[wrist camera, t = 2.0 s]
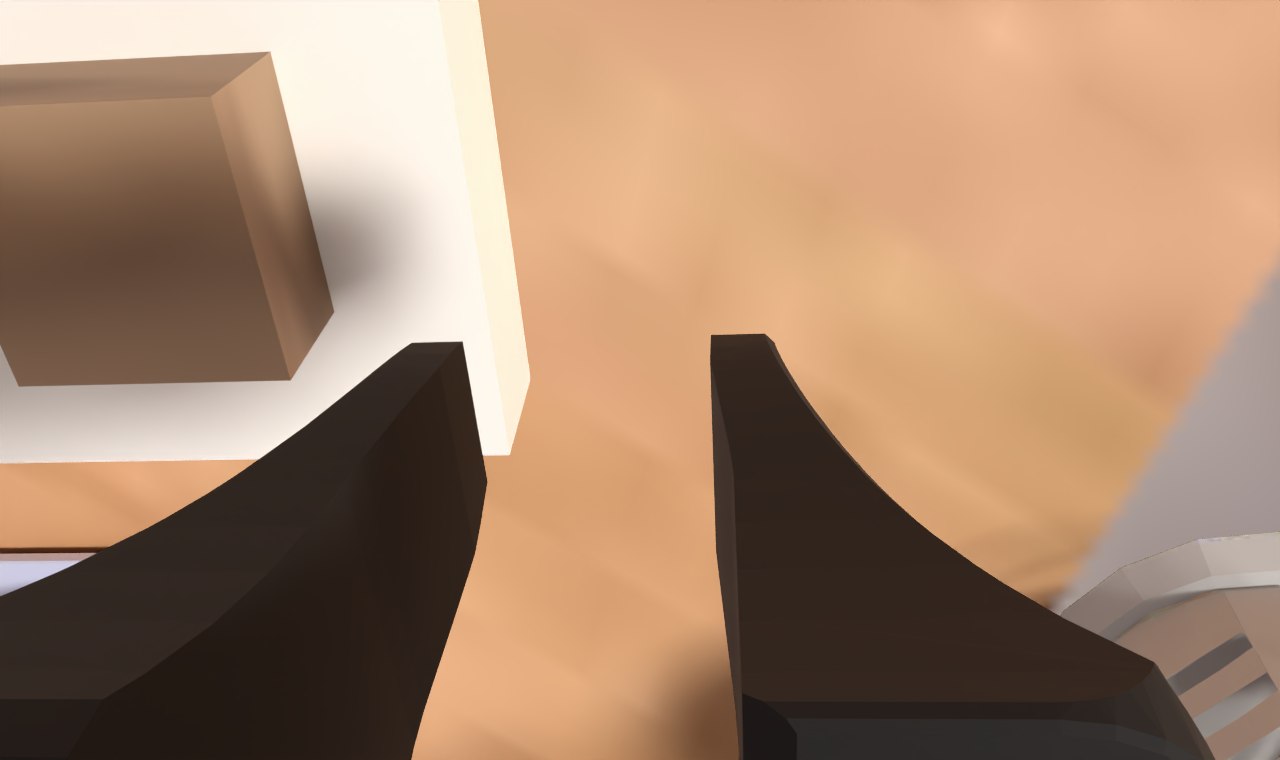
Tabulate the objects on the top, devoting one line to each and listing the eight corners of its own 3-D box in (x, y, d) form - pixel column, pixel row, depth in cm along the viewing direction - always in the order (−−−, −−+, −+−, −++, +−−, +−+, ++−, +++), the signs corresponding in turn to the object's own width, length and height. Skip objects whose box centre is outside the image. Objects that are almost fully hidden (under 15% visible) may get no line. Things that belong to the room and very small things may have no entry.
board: (530, 379, 25) (509, 454, 22) (-73, 392, 26) (-159, 466, 23) (449, -208, 18) (406, -197, 16) (-347, -153, 19) (-506, -133, 17)
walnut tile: (334, 312, 20) (290, 380, 18) (89, 318, 21) (19, 386, 19) (270, 51, 18) (210, 96, 16) (-9, 65, 18) (-104, 111, 16)
